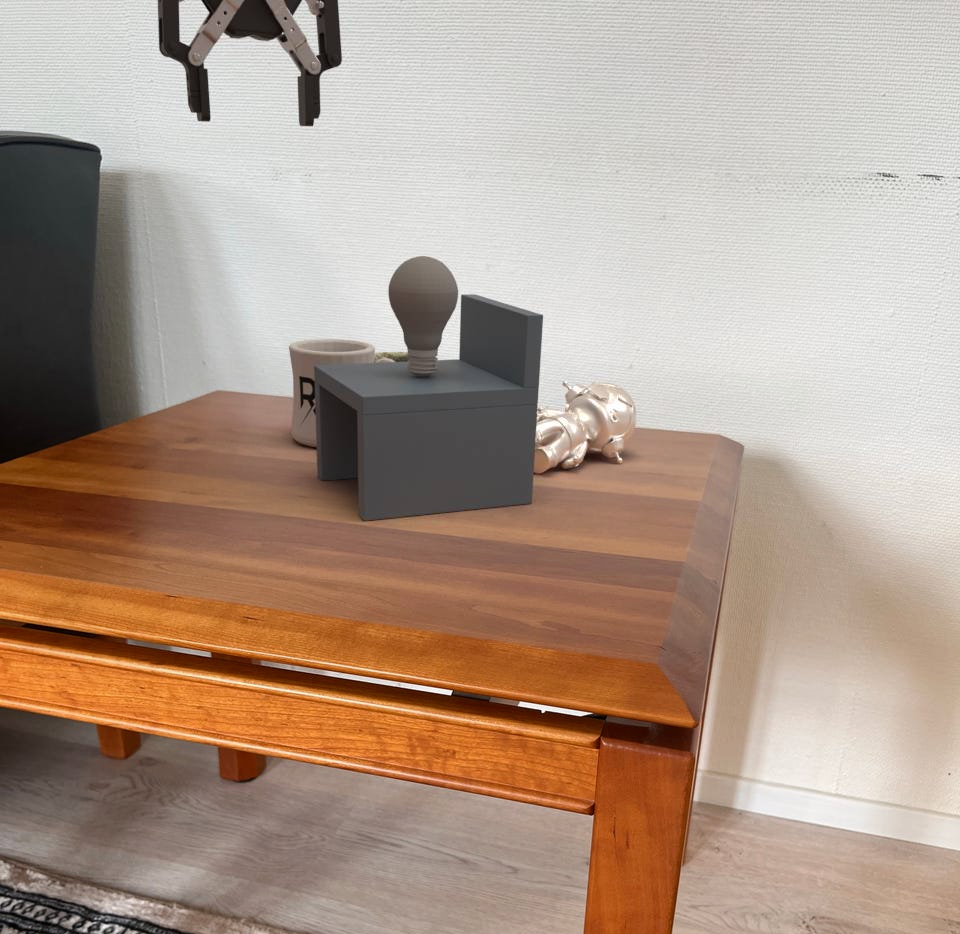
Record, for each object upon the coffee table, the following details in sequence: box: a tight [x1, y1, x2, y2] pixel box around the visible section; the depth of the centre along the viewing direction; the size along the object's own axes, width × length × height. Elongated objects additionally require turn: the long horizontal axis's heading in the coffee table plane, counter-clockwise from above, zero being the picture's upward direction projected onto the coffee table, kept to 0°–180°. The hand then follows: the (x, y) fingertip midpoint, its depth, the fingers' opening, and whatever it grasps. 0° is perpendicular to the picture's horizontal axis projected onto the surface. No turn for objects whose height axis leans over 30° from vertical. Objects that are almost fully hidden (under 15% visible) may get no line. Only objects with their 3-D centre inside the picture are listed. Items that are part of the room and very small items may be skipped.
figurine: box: [534, 380, 637, 475], centre depth 105 cm, size 11×7×15 cm
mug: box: [288, 338, 395, 448], centre depth 108 cm, size 12×9×10 cm
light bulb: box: [387, 255, 459, 377], centre depth 89 cm, size 6×6×10 cm
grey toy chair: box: [314, 293, 544, 522], centre depth 92 cm, size 16×14×16 cm
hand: (256, 123), depth 84 cm, fingers open, 8 cm apart
